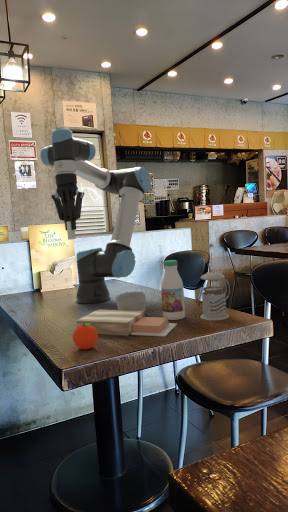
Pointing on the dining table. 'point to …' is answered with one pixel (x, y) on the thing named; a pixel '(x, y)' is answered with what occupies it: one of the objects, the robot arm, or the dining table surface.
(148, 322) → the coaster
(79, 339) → the clementine
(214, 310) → the french press
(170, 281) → the milk bottle
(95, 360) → the dining table surface
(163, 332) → the mat
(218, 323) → the dining table surface
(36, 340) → the dining table surface
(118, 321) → the block
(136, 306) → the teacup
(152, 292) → the dining table surface
